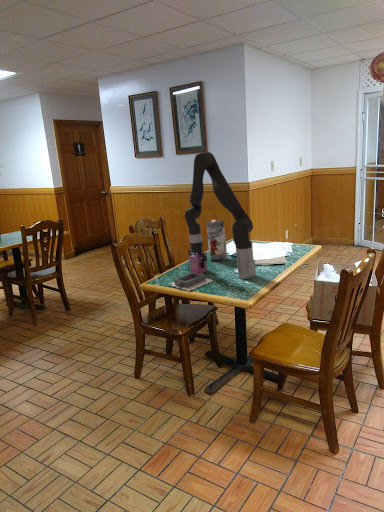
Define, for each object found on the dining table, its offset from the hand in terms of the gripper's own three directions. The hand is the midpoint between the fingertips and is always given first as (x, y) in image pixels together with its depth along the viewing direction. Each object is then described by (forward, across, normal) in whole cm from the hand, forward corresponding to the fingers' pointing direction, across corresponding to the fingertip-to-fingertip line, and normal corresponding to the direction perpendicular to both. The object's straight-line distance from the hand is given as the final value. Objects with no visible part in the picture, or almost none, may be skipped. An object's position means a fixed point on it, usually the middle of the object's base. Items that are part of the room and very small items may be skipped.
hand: (198, 267), depth 240 cm
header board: (+3, -10, +17) cm, 20 cm away
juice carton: (+3, +8, -26) cm, 27 cm away
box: (+3, 0, 0) cm, 3 cm away
